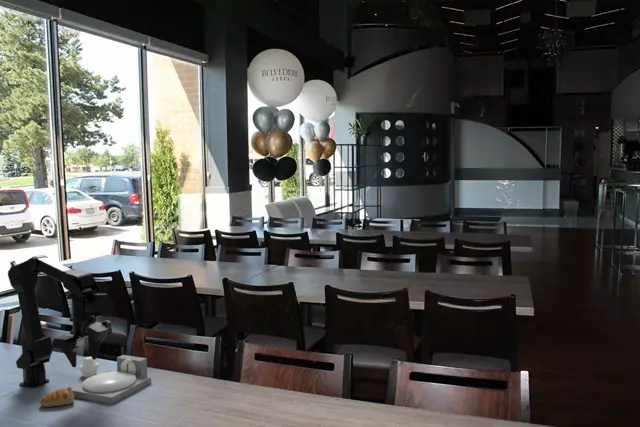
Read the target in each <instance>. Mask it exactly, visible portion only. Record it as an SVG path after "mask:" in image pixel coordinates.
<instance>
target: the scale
mask: <svg viewBox="0 0 640 427" xmlns="http://www.w3.org/2000/svg"><path fill="white" fill-rule="evenodd" d="M116 370H117V371H111V370H106V371H104V372H102V373H98V374H97V373H96V374H95V375H94V376H92V377H86V378H85V380H84V381H81V382H80V383H78V384H75V385H72V386H71V387H72V390H73V394H74V398H76V399H77V398H78V399H83V400H88V401H94V402H98V403H99V402H100V403H105V404H109V405H113V404H115V403H117V402H118V401H121V400H123V399H124V398H126V397H128V396H131V395H132V394H134V393H135V392H138V391H139V390H141V389H142V388H144V387H146V386H148V385H149V384H151V383H152V377H150V376H148V360H147V358H146V357H140V356H139V357H138V356H133V355H125V354H122V355H120V356H118V357H116Z"/></svg>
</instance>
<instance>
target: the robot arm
mask: <svg viewBox="0 0 640 427" xmlns="http://www.w3.org/2000/svg"><path fill="white" fill-rule="evenodd" d="M41 273H43V274H44V275H46V276H49V277H50V278H53V279H54V280H56V281H58V282H61V284H62V286H63V287H64V289H66V291H68V292H70V293H69V294H68V295H67V296H66V298H65V299H67V300H71V312H72V313H71V317H69V322H72V330H70V331H69V334H70V335H60V336H58V337H54V338H53V339H52V337H51V336H46V334H45V333H44V332H43V328H42V322H41V317H40V311H39V306H38V300H37V294H36V287H37V285H38V283H39V274H41ZM7 277H8V281H9V284H10V286H11V287H12V288H13V289H14V291H16V293H17V296H18V301H19V306H20V312H21V313H20V314H21V317H22V323H23V329H24V334H25V335H24V336H25V337H24V340H23V342H22V345H21V354H20V356H19V357H18V358H17V360H16V362H15V364H16V367H17V368H18V369H21V370H22V379H23V381H21V382H20V383H19V386H23V387H27V388H36V387H39V386H40V385H43V384H46V383H48V382H50V379H48V378H46V377H47V375H46V368H45V367H46V366H45V363H49V362H50V360H51V357H52V354H53V349H59V350H61V352H62V353H63V354H64V355H65V357H66V358H67V360H68V362H69V363H70V365H71V366H72V368H76V367H77V361H78V360H77V351H78V349H79V348H80V346H79V345H77V344H78V342H79V341H82V340H85V339H88V340H87V341H88V346H89V350H90V351H89V352H90V357H92V359H94V360H95V361H96V359H97V357H98V354H99V350H100V348H101V344H102V342H103V341H104V340H105V339H107V338H108V336H109V335H112V334H113V331H112V330H113V328H112V323H111V321H110V320H108V319H107V320H103V321H99V322H98V321H97V317H106V318H107V317H110V315H112V313H113V311H114V309H115V304H114V301H113V300H112V298H111V297H109V293H103V291H102V289H101V287H100V286H99V285H98V282H97V281H96V280H95V277H94V275H93V274H92V273H91V272H88V271H85V270H81V269H80V270H79V269H72V268H70V267H67V266H66V265H64V264H61V262H57V261H55V260H53V259H52V258H50V257H49V256H47V255H45V254H42V255H41V254H40V255H35V256H32V257H30V258H28V259H27V260H24V261H22V262H21V263H18V264H14V265H12V266H10V268H9V270H7ZM71 335H72V336H71Z"/></svg>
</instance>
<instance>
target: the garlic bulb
mask: <svg viewBox="0 0 640 427" xmlns="http://www.w3.org/2000/svg"><path fill="white" fill-rule="evenodd" d="M99 366H100V364H99V363H98V362H97V361H96V359H95V360H94V359H92V356H86V357H85V358H83V361H82V363H81V364H80V365H79V371H80V373H81V374H82V376H83V377H84V378H89V377H92V376H94V375H97V373H98V370H99Z"/></svg>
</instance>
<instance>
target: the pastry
mask: <svg viewBox="0 0 640 427" xmlns="http://www.w3.org/2000/svg"><path fill="white" fill-rule="evenodd" d="M72 387H73V386H68V387H66V388H58V389H56V390H54V391H52V392H50V393H47V394H46V395H44V396H42V397H41V398H40V400H39V405H41V406H43V407H46V408H50V407H57V406H59V407H61V406H63V405H69V404H72V403H74V401H75V397H74V394H73V390H72Z"/></svg>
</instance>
